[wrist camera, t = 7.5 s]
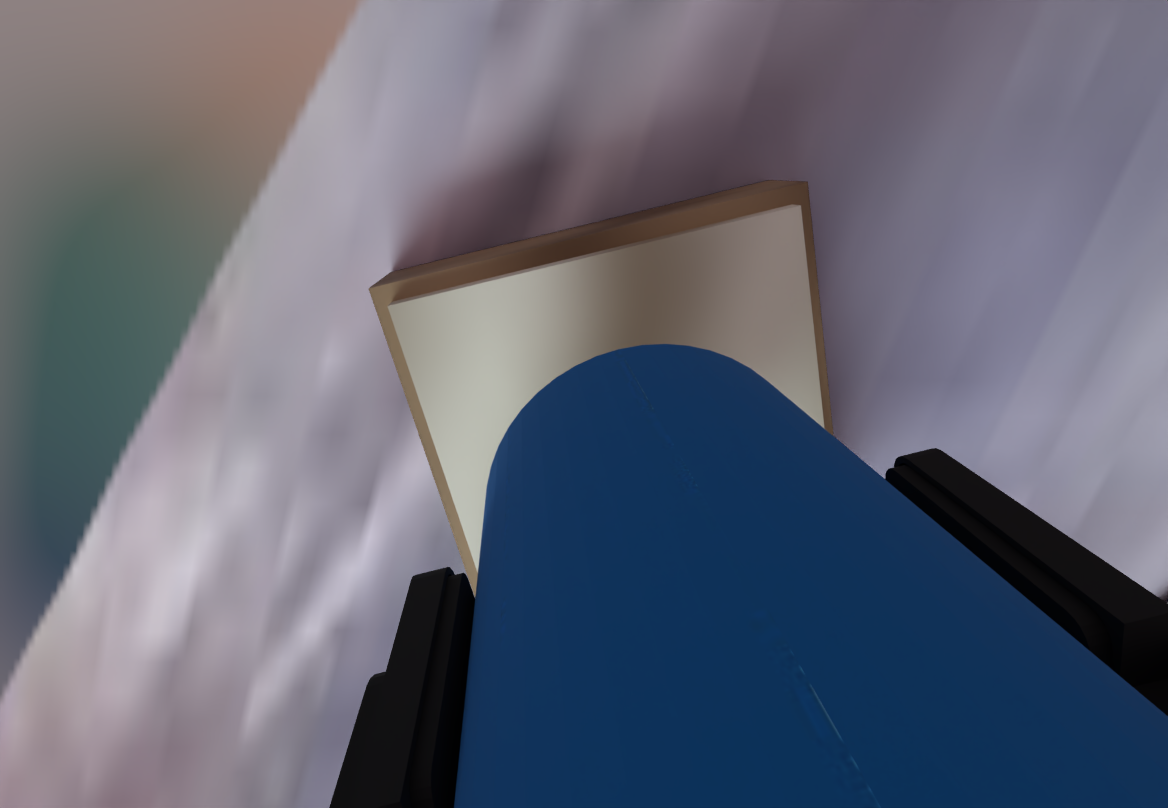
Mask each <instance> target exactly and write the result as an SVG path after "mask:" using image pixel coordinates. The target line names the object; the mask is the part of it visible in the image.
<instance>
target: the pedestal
mask: <svg viewBox="0 0 1168 808" xmlns="http://www.w3.org/2000/svg"><path fill="white" fill-rule="evenodd" d="M369 291H370V294H371V297H372V300H373V303H374V306H375V309H376V312H377V314H378V317H379V320H380V323H381V326H382V329H383V332H384V335H385V338H386V341H387V343H388V346H389V349H390V352H391V355H392V358H393V361H394V364H395V367H396V370H397V372H398V375H399V378H400V381H401V384H402V387H403V390H404V393H405V396H406V399H407V401H408V404H409V407H410V410H411V413H412V416H413V419H414V422H415V425H416V428H417V430H418V433H419V436H420V439H421V442H422V445H423V448H424V451H425V454H426V457H427V459H428V462H429V465H430V468H431V471H432V474H433V477H434V480H435V483H436V485H437V488H438V491H439V494H440V497H441V500H442V503H443V506H444V509H445V512H446V514H447V517H448V520H449V523H450V526H451V529H452V532H453V535H454V538H455V541H456V543H457V546H458V549H459V552H460V555H461V558H462V561H463V564H464V567H465V570H466V572H467V575H468V578H469V581H470V584H471V587H472V590H473V593H474V596H476V586H477V577H478V567H479V557H480V547H481V537H482V528H483V518H484V508H485V498H486V488H487V483H488V478H489V473H490V468H491V465H492V462H493V459H494V457H495V454H496V451H497V448H498V446H499V444H500V442H501V440H502V438H503V437H504V435H505V433H506V431H507V429H508V427H509V426H510V424H511V423H512V422H513V420H514V419H515V418H516V416H517V415H518V413H519V412H520V411H521V409H522V408H523V407H524V406H525V405H526V404H527V403H528V402H529V401H530V400H531V399H532V398H533V397H534V396H535V395H536V394H537V393H538V392H539V391H540V390H541V389H542V388H544V387H545V386H546V385H547V384H549V383H550V382H551V381H552V380H554V379H555V378H556V377H558V376H559V375H561V374H563V373H564V372H566V371H567V370H569V369H571V368H572V367H574V366H576V365H578V364H580V363H582V362H584V361H587V360H589V359H591V358H593V357H595V356H598V355H601V354H605V353H608V352H611V351H614V350H617V349H622V348H627V347H633V346H639V345H650V344H675V345H687V346H693V347H697V348H702V349H706V350H711V351H714V352H716V353H719V354H722V355H725V356H727V357H730V358H732V359H734V360H736V361H738V362H740V363H742V364H743V365H745V366H747V367H749V368H751V369H752V370H753V371H755V372H756V373H757V374H759V375H760V376H762V377H763V378H764V379H766V380H767V381H768V382H769V383H771V384H772V385H773V386H774V387H775V388H777V389H778V390H779V391H780V392H781V393H782V394H784V395H785V396H786V397H787V398H788V399H790V400H791V401H792V402H793V403H794V404H796V405H797V406H798V407H799V408H800V409H802V410H803V411H804V412H805V413H806V414H808V415H809V416H810V417H811V418H812V419H814V420H815V421H816V422H817V423H818V424H819V425H821V426H822V427H823V428H824V429H825V430H827V431H828V432H829V433H830V434H831V435H833V427H832V417H831V407H830V397H829V388H828V378H827V368H826V358H825V348H824V338H823V328H822V319H821V309H820V299H819V289H818V279H817V269H816V259H815V249H814V240H813V230H812V220H811V210H810V200H809V190H808V182H803V181H777V180H767V181H763V182H759V183H755V184H751V185H747V186H743V187H739V188H735V189H730V190H726V191H722V192H718V193H714V194H710V195H706V196H702V197H698V198H693V199H689V200H685V201H681V202H677V203H673V204H669V205H665V206H661V207H656V208H652V209H648V210H644V211H640V212H636V213H632V214H628V215H624V216H619V217H615V218H611V219H607V220H603V221H599V222H595V223H591V224H587V225H583V226H578V227H574V228H570V229H566V230H562V231H558V232H554V233H550V234H546V235H541V236H537V237H533V238H529V239H525V240H521V241H517V242H513V243H509V244H504V245H500V246H496V247H492V248H488V249H484V250H480V251H476V252H472V253H467V254H463V255H459V256H455V257H451V258H447V259H443V260H439V261H435V262H430V263H426V264H422V265H418V266H414V267H410V268H406V269H402V270H398V271H394V272H390V273H389V274H388V275H386V276H385V277H384V278H382V279H381V280H380V281H378V282H377V283H375V284H374V285H373V286H371V287H370V288H369Z"/></svg>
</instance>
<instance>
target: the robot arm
mask: <svg viewBox="0 0 1168 808" xmlns="http://www.w3.org/2000/svg"><path fill="white" fill-rule="evenodd" d="M885 480H886V481H887V482H889V483H890V484H891V485H892V486H893V487H895V488H896V489H897V490H898V491H899V492H901V493H902V494H903V495H904V496H905V497H907V498H908V499H909V500H910V501H911V502H913V503H914V504H915V505H916V506H917V507H919V508H920V509H921V510H922V511H923V512H924V513H926V514H927V515H928V516H929V517H930V518H932V519H933V520H934V521H935V522H936V523H938V524H939V525H940V526H941V527H942V528H944V529H945V530H946V531H947V532H948V533H950V534H951V535H952V536H953V537H954V538H956V539H957V540H958V541H959V542H960V543H961V544H963V545H964V546H965V547H966V548H967V549H969V550H970V551H971V552H972V553H973V554H975V555H976V556H977V557H978V558H979V559H981V560H982V561H983V562H984V563H985V564H987V565H988V566H989V567H990V568H991V569H993V570H994V571H995V572H996V573H997V574H998V575H1000V576H1001V577H1002V578H1003V579H1004V580H1006V581H1007V582H1008V583H1009V584H1010V585H1012V586H1013V587H1014V588H1015V589H1016V590H1018V591H1019V592H1020V593H1021V594H1022V595H1024V596H1025V597H1026V598H1027V599H1028V600H1030V601H1031V602H1032V603H1033V604H1034V605H1035V606H1037V607H1038V608H1039V609H1040V610H1041V611H1043V612H1044V613H1045V614H1046V615H1047V616H1049V617H1050V618H1051V619H1052V620H1053V621H1055V622H1056V623H1057V624H1058V625H1059V626H1061V627H1062V628H1063V629H1064V630H1065V631H1066V632H1068V633H1069V634H1070V635H1071V636H1072V637H1074V638H1075V639H1076V640H1077V641H1078V642H1080V643H1081V644H1082V645H1083V646H1084V647H1086V648H1087V649H1088V650H1089V651H1090V652H1092V653H1093V654H1094V655H1095V656H1096V657H1098V658H1099V659H1100V660H1101V661H1102V662H1103V663H1105V664H1106V665H1107V666H1108V667H1109V668H1111V669H1112V670H1113V671H1114V672H1115V673H1117V674H1118V675H1119V676H1120V677H1121V678H1123V679H1124V680H1125V681H1126V682H1127V683H1129V684H1130V685H1131V686H1132V687H1133V688H1135V689H1136V690H1137V691H1138V692H1139V693H1140V694H1142V695H1143V696H1144V697H1145V698H1146V699H1148V700H1149V701H1150V702H1151V703H1152V704H1154V705H1155V706H1156V707H1157V708H1158V709H1160V710H1161V711H1162V712H1163V713H1164V714H1166V715H1167V716H1168V602H1167V603H1166V602H1164V601H1163V600H1161V599H1160V598H1158V597H1157V596H1155V595H1154V594H1152V593H1151V592H1149V591H1148V590H1146V589H1145V588H1144V587H1142V586H1141V585H1139V584H1138V583H1136V582H1135V581H1133V580H1132V579H1130V578H1129V577H1127V576H1126V575H1124V574H1123V573H1121V572H1120V571H1118V570H1117V569H1115V568H1114V567H1113V566H1111V565H1110V564H1108V563H1107V562H1105V561H1104V560H1102V559H1101V558H1099V557H1098V556H1096V555H1095V554H1093V553H1092V552H1090V551H1089V550H1087V549H1086V548H1084V547H1083V546H1082V545H1080V544H1079V543H1077V542H1076V541H1074V540H1073V539H1071V538H1070V537H1068V536H1067V535H1065V534H1064V533H1062V532H1061V531H1059V530H1058V529H1056V528H1055V527H1053V526H1052V525H1051V524H1049V523H1048V522H1046V521H1045V520H1043V519H1042V518H1040V517H1039V516H1037V515H1036V514H1034V513H1033V512H1031V511H1030V510H1028V509H1027V508H1025V507H1024V506H1022V505H1021V504H1020V503H1018V502H1017V501H1015V500H1014V499H1012V498H1011V497H1009V496H1008V495H1006V494H1005V493H1003V492H1002V491H1000V490H999V489H997V488H996V487H994V486H993V485H991V484H990V483H989V482H987V481H986V480H984V479H983V478H981V477H980V476H978V475H977V474H975V473H974V472H972V471H971V470H969V469H968V468H966V467H965V466H963V465H962V464H960V463H959V462H958V461H956V460H955V459H953V458H952V457H950V456H949V455H947V454H946V453H944V452H943V451H941V450H939V449H937V448H934V449H928V450H924V451H920V452H916V453H912V454H908V455H904V456H900V457H898V458H897V459H896V461H895V464H894V468H890V469H888V470H887V472H886V479H885ZM474 606H475V598H474V595H473V592H472V589H471V586H470V583H469V580H468V578H467V576H466V574H464V573H461V574H457V575H455V574H454V572H453V571H452V569H451V568H450V567H446V568H442V569H438V570H434V571H430V572H426V573H422V574H418V575H415V576H413V577H412V579H411V583H410V586H409V590H408V593H407V597H406V601H405V604H404V608H403V611H402V615H401V619H400V622H399V626H398V630H397V633H396V637H395V640H394V644H393V648H392V651H391V655H390V659H389V662H388V666H387V669H386V672H382V673H378V674H375V675H374V676H372V677H371V678H370V680H369V682H368V684H367V687H366V690H365V693H364V696H363V699H362V703H361V706H360V709H359V713H358V716H357V719H356V722H355V726H354V729H353V732H352V735H351V739H350V742H349V745H348V748H347V752H346V755H345V758H344V762H343V765H342V768H341V771H340V775H339V778H338V781H337V784H336V788H335V791H334V794H333V798H332V801H331V804H330V807H329V808H454V802H455V792H456V782H457V772H458V763H459V753H460V743H461V733H462V723H463V714H464V704H465V694H466V684H467V674H468V665H469V655H470V645H471V635H472V625H473V616H474Z"/></svg>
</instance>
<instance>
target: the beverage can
mask: <svg viewBox="0 0 1168 808" xmlns="http://www.w3.org/2000/svg"><path fill="white" fill-rule="evenodd" d="M454 808H1168V716H1167V715H1166V714H1164V713H1163V712H1162V711H1161V710H1160V709H1158V708H1157V707H1156V706H1155V705H1154V704H1152V703H1151V702H1150V701H1149V700H1148V699H1146V698H1145V697H1144V696H1143V695H1142V694H1140V693H1139V692H1138V691H1137V690H1136V689H1135V688H1133V687H1132V686H1131V685H1130V684H1129V683H1127V682H1126V681H1125V680H1124V679H1123V678H1121V677H1120V676H1119V675H1118V674H1117V673H1115V672H1114V671H1113V670H1112V669H1111V668H1109V667H1108V666H1107V665H1106V664H1105V663H1103V662H1102V661H1101V660H1100V659H1099V658H1098V657H1096V656H1095V655H1094V654H1093V653H1092V652H1090V651H1089V650H1088V649H1087V648H1086V647H1084V646H1083V645H1082V644H1081V643H1080V642H1078V641H1077V640H1076V639H1075V638H1074V637H1072V636H1071V635H1070V634H1069V633H1068V632H1066V631H1065V630H1064V629H1063V628H1062V627H1061V626H1059V625H1058V624H1057V623H1056V622H1055V621H1053V620H1052V619H1051V618H1050V617H1049V616H1047V615H1046V614H1045V613H1044V612H1043V611H1041V610H1040V609H1039V608H1038V607H1037V606H1035V605H1034V604H1033V603H1032V602H1031V601H1030V600H1028V599H1027V598H1026V597H1025V596H1024V595H1022V594H1021V593H1020V592H1019V591H1018V590H1016V589H1015V588H1014V587H1013V586H1012V585H1010V584H1009V583H1008V582H1007V581H1006V580H1004V579H1003V578H1002V577H1001V576H1000V575H998V574H997V573H996V572H995V571H994V570H993V569H991V568H990V567H989V566H988V565H987V564H985V563H984V562H983V561H982V560H981V559H979V558H978V557H977V556H976V555H975V554H973V553H972V552H971V551H970V550H969V549H967V548H966V547H965V546H964V545H963V544H961V543H960V542H959V541H958V540H957V539H956V538H954V537H953V536H952V535H951V534H950V533H948V532H947V531H946V530H945V529H944V528H942V527H941V526H940V525H939V524H938V523H936V522H935V521H934V520H933V519H932V518H930V517H929V516H928V515H927V514H926V513H924V512H923V511H922V510H921V509H920V508H919V507H917V506H916V505H915V504H914V503H913V502H911V501H910V500H909V499H908V498H907V497H905V496H904V495H903V494H902V493H901V492H899V491H898V490H897V489H896V488H895V487H893V486H892V485H891V484H890V483H889V482H887V481H886V480H885V479H884V478H883V477H882V476H880V475H879V474H878V473H877V472H876V471H874V470H873V469H872V468H871V467H870V466H868V465H867V464H866V463H865V462H864V461H862V460H861V459H860V458H859V457H858V456H856V455H855V454H854V453H853V452H852V451H851V450H849V449H848V448H847V447H846V446H845V445H843V444H842V443H841V442H840V441H839V440H837V439H836V438H835V437H834V436H833V435H831V434H830V433H829V432H828V431H827V430H825V429H824V428H823V427H822V426H821V425H819V424H818V423H817V422H816V421H815V420H814V419H812V418H811V417H810V416H809V415H808V414H806V413H805V412H804V411H803V410H802V409H800V408H799V407H798V406H797V405H796V404H794V403H793V402H792V401H791V400H790V399H788V398H787V397H786V396H785V395H784V394H782V393H781V392H780V391H779V390H778V389H777V388H775V387H774V386H773V385H772V384H771V383H769V382H768V381H767V380H766V379H764V378H763V377H762V376H760V375H759V374H757V373H756V372H755V371H753V370H752V369H751V368H749V367H747V366H745V365H743V364H742V363H740V362H738V361H736V360H734V359H732V358H730V357H727V356H725V355H722V354H719V353H716V352H714V351H711V350H706V349H702V348H697V347H693V346H687V345H675V344H650V345H639V346H633V347H627V348H622V349H617V350H614V351H611V352H608V353H605V354H601V355H598V356H595V357H593V358H591V359H589V360H587V361H584V362H582V363H580V364H578V365H576V366H574V367H572V368H571V369H569V370H567V371H566V372H564V373H563V374H561V375H559V376H558V377H556V378H555V379H554V380H552V381H551V382H550V383H549V384H547V385H546V386H545V387H544V388H542V389H541V390H540V391H539V392H538V393H537V394H536V395H535V396H534V397H533V398H532V399H531V400H530V401H529V402H528V403H527V404H526V405H525V406H524V407H523V408H522V409H521V411H520V412H519V413H518V415H517V416H516V418H515V419H514V420H513V422H512V423H511V424H510V426H509V427H508V429H507V431H506V433H505V435H504V437H503V438H502V440H501V442H500V444H499V446H498V448H497V451H496V454H495V457H494V459H493V462H492V465H491V468H490V473H489V478H488V483H487V488H486V498H485V508H484V518H483V528H482V537H481V547H480V557H479V567H478V577H477V586H476V596H475V606H474V616H473V625H472V635H471V645H470V655H469V665H468V674H467V684H466V694H465V704H464V714H463V723H462V733H461V743H460V753H459V763H458V772H457V782H456V792H455V802H454Z"/></svg>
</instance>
